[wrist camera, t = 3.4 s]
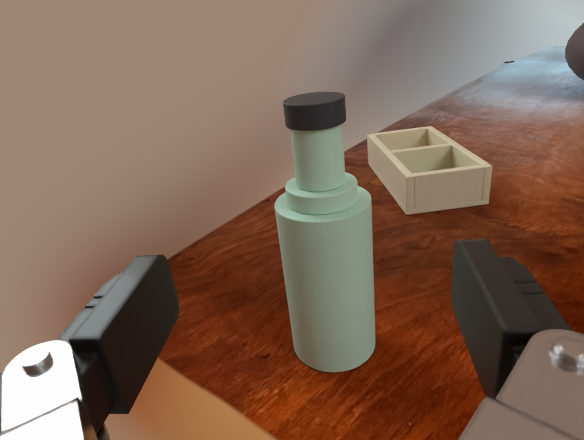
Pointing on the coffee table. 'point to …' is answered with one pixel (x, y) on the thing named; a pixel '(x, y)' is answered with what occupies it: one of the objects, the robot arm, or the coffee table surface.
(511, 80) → the coffee table surface
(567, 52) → the flattened ellipsoid
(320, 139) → the bottle
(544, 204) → the coffee table surface
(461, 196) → the cream rectangular tray
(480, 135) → the coffee table surface
